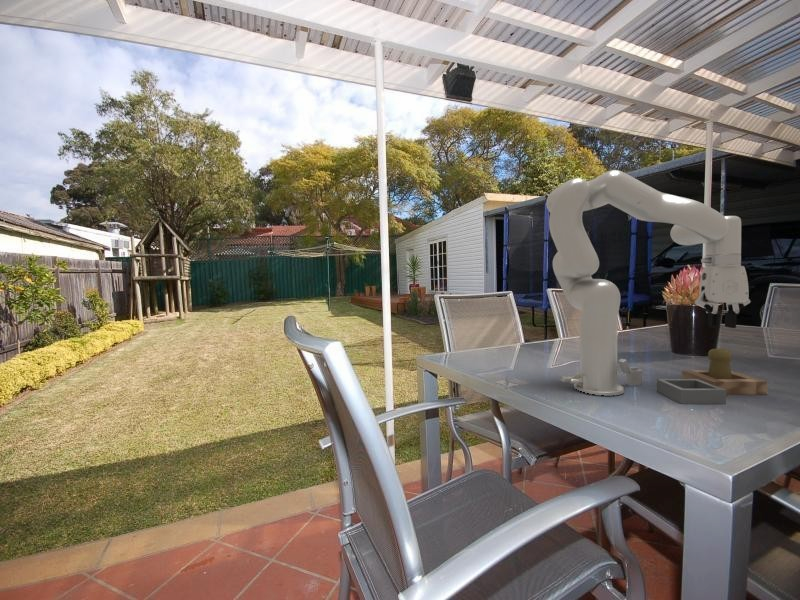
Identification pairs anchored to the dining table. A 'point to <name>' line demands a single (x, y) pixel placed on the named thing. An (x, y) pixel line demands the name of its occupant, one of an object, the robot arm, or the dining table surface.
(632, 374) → the lighter
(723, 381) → the socket block
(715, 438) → the dining table surface
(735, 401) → the dining table surface
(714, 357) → the cork
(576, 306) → the robot arm
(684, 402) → the grey square frame
